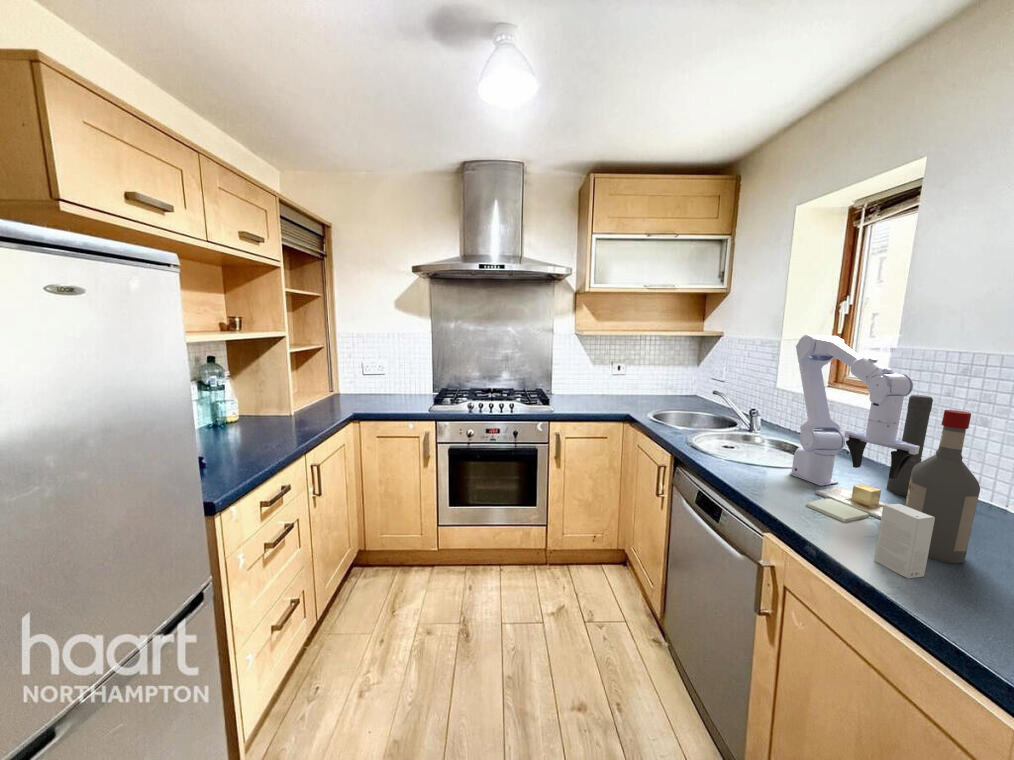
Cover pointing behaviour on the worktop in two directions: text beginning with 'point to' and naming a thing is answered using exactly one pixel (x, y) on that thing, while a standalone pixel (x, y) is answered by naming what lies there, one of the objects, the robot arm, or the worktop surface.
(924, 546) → the skincare box
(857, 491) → the light wood cube
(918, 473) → the liquor
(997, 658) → the worktop surface
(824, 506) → the tile
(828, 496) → the rail plate
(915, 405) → the flashlight
